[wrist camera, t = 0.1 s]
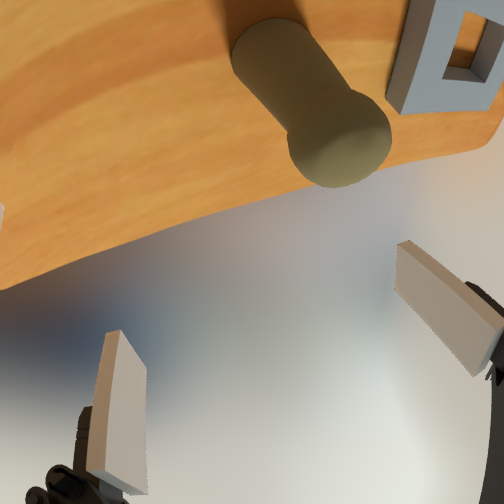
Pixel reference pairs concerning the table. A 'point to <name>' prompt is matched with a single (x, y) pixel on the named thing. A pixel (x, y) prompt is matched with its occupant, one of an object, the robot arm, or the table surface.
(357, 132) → the cork
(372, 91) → the table surface
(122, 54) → the table surface
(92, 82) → the table surface
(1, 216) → the white cube
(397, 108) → the hole plate
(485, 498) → the robot arm
